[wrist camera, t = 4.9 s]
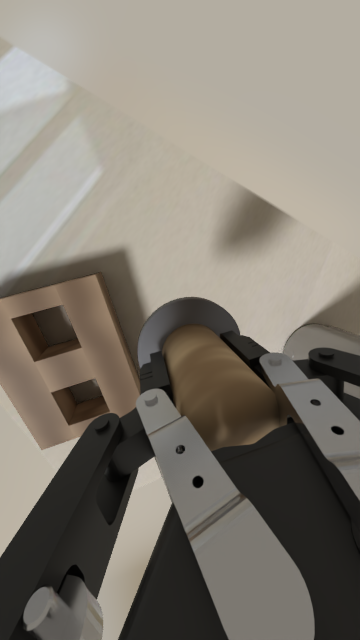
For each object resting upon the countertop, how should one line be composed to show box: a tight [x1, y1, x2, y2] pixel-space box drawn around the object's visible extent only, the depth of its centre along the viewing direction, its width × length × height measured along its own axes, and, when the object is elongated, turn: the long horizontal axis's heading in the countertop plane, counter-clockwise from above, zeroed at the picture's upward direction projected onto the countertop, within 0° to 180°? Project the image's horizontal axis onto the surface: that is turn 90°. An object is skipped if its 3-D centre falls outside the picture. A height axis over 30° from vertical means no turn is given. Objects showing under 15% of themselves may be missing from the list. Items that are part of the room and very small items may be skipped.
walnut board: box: [0, 272, 140, 450], centre depth 25 cm, size 13×18×4 cm
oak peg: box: [138, 297, 280, 451], centre depth 13 cm, size 7×7×11 cm
